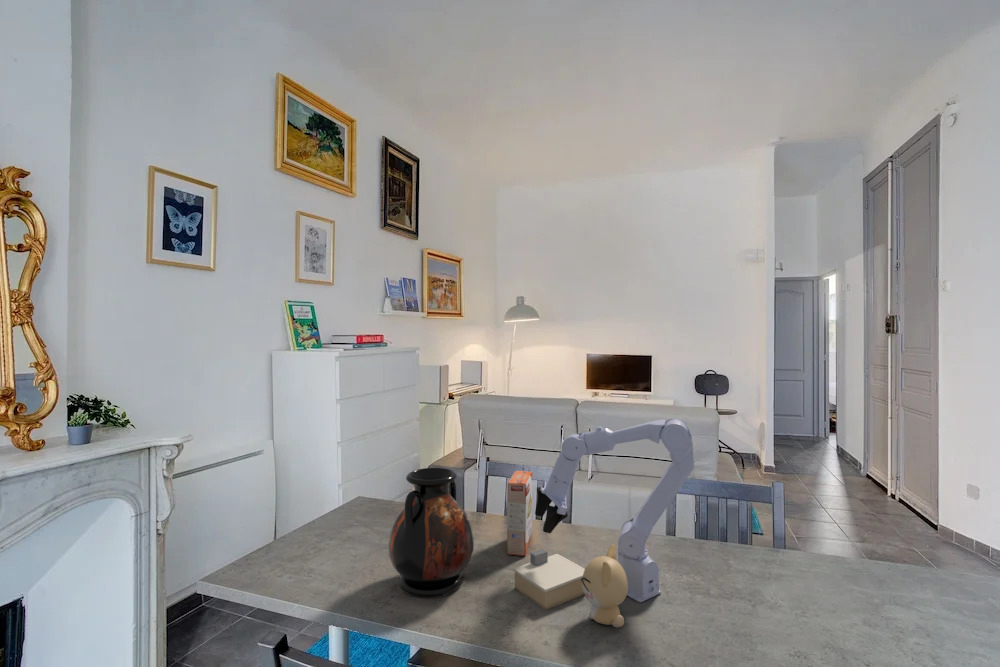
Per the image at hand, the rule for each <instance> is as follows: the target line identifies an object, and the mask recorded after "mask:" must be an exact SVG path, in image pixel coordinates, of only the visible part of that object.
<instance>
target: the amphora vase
mask: <svg viewBox="0 0 1000 667" xmlns="http://www.w3.org/2000/svg"><path fill="white" fill-rule="evenodd" d="M457 477H458V476H457V473H456V472H455V471H454V470H452V469H450V468H445V467H426V468H419V469H414V470H412V471H411V472H409V473H407V475H406V477H405V480H406V481H407V482H408V483H409V484H411V485H413V489H414V490H411V491H409V492H408V494H406V498H405V501H404V507H403V508H402V509H401V510H400V511H399V512H398V514H397V516H396V517H395V520H394V522H393V524H392V528H391V530H390V534H389V539H388V545H387V546H388V556H389V559H390V562H391V564H392V567H393V568H394V569H395V572H397V573H398V574H399V575H400V576H399V579H398V585H399V587H400V589H401V590H402V591H403V592H404V593H406V594H407V595H409V596H412V597H416V598H421V599H431V598H440V597H444V596H446V595H450V594H452V593H453V592H455V591H457V590H458V589H459V588H460V587H461V586H462V585H463V582H464V580H465V573H464V570H465V568H467V565H468V564H469V563H470V560H471V558H472V555H473V553H474V548H475V547H474V546H475V544H474V543H475V541H474V538H475V537H474V532H473V528H472V527H473V526H472V523H471V521H470V518H469V516H468V514H467V513H466V510H465V509H464V508H463V507H462V506H461V505H460V504H459V503H458V502H457V487H456V486H457V485H456V483H455V480H456V479H457Z"/></svg>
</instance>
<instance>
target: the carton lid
mask: <svg viewBox="0 0 1000 667" xmlns="http://www.w3.org/2000/svg"><path fill="white" fill-rule="evenodd" d="M548 553H549V552H548V551H547V550H545V549H543V548H542V549H540V550H536V551H533V552H530V554H529V555H530V562H528V563H525V564H522V565H519V566H516V567H514V568H512V571H513V572H514V573H515V572H516V573H517V574H519V575H520V576H522V577H523V578H525V579H526V580H528V581H529V582H531V583H532V584H534V585H535V586H537V587H538V588H540V589H541V590H543V591H544V592H548V591H550V590H553V589H556V588H558V587H561V586H563V585H566V584H569V583H571V582H574V581H576V580H579V579H581V578H583V573H584V570H585V568H584V567H583V566H580V565H579V564H577V563H576V562H573V561H572V560H569V558H566V557H564V556H562V555H561V554H559V553H555V554H552V555H548Z"/></svg>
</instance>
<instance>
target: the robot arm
mask: <svg viewBox="0 0 1000 667" xmlns="http://www.w3.org/2000/svg"><path fill="white" fill-rule="evenodd" d="M640 440H641V441H642V440H649V441H650V442H653V443H656V444H659V443H660V440H661V442H662V444H663V446H664V447H665V448H666V449H667V451H668V453H669V456H670V457H669V458H670V460H671V462H670V464H669V466H668V467H667V469H666V470H665V472H664V473H663V474H662V476H661V477H660V479H659V480H658V481H657V483H656V485H655V486H654V488H652V491H650V494H649V495H648V496H647V498H646V500H644V502H643V504H642V505H641V506H640V508H639V510H638V511H637V512H636V513H635V514H634V515H633V516H632V517H631V518H630V519H628V520H626V521H625V522H624V523H623V524H622V526H621V530H620V531H621V532H620V535H619V537H618V539H617V547H618V548H617V562H618V563H619V564H620V565H621V566H622V568H623V569H624V571H625V574H626V577H627V581H628V592H627V596H628V597H629V598H631V599H633V600H634V601H635V602H638V603H642V602H644V601H646V600H650V599H651V598H653V597H655V596H658V595H660V594H661V593H662V591H661V590H660V589H659V588H660V580H659V578H660V577H659V576H660V575H659V573H660V572H659V565H658V564H657V562H656V561H654V560H653V559H652V558H651V557H650V556H649V551H648V549H647V548H646V543H647V541H648V539H649V537H650V535H651V533H652V531H653V529H654V527H655V525H656V524H657V522H658V521H659V519H660V518H661V516H662V515H663V514H664V512H665V511H666V510H667V508H668V506H669V505H670V504H671V502H672V500H673V499H674V498H675V496H676V495H677V494H678V492H679V490H680V489H681V487H682V486H683V485H684V484H685V482H686V480H687V479H688V478H689V476H690V474H691V473H692V472H693V470H694V467H695V461H694V459H695V458H694V446H693V444H694V443H693V436H692V434H691V431H690V428H689V427H688V425H687V423H686V422H685V421H684V420H683V419H680V418H678V417H677V418H676V417H674V418H669V419H667V420H666V419H658V420H652V421H647V422H644V423H639V424H636V425H632V426H629V427H625V428H621V429H617V430H614V431H613V430H611V429H610V428H607V427H602V426H596V428H595V429H594V430H591V431H586V432H584V431H579V432H578V433H573V434H570V435H568V436H567V438H565V439H564V440H563V441H562V443H561V451H560V452H559V456H558V457H557V459H556V461H555V463H554V465H553V468H552V469H551V470H552V471H551V473H550V475H549V478H548V479H547V478H543V480H542V482H541V485H542V486H541V487H540V486H537V487H536V494H537V495H536V498H537V499H536V505H535V513H534V515H535V516H537V517H542V518H543V517H544V515H545V514H546V515H545V521H544V524H543V526H542V531H543V533H546V534H551V533H552V532H553V531H554V529H556V527H557V526H558V525H559V524H560V522H562V521H564V519H567V517H568V515H569V513H568V512H567V511H568V509H569V508H568V507H567V495H568V492H569V490H570V488H571V484H573V483H572V482H573V480H574V478H575V475H576V473H577V470H578V468H579V464H580V462H581V459H582V458H583V456H585V455H586V456H590V455H596V454H602V453H605V452H610V451H613V450H614V449H615V446H616V445H618V444H624V443H625V444H626V443H630V442H636V441H640ZM659 445H660V444H659ZM551 503H553V504H554V506H553V505H550V504H551ZM627 596H626V597H627Z"/></svg>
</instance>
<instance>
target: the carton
mask: <svg viewBox="0 0 1000 667" xmlns="http://www.w3.org/2000/svg"><path fill="white" fill-rule="evenodd" d="M514 589H515V590H516V591H518V592H520V593H521V595H523V596H525V597H526V598H528V599H529V600H530V601H531V602H533V603H535V604H536V605H537V604H538V606H539V607H540V608H542V609H543V610H544V609H545V611H548V610H550V609H552V608H554V606H555V607H557V606H559V604H560V605H562V604H565V603H567V602H570V601H572V600H574V599H576V597H577V598H579V597H581V595H582V596H583V594H584V591H583V586H582V581H581V579H579V580H576V581H574V582H571V583H569V584H566V585H563V586H561V587H558V588H556V589H553V590H550V591H548V592H544V591H543V590H541V589H540V588H538V587H537V586H535V585H534V584H532V583H531V582H529V581H528V580H526V579H525V578H523V577H522V576H520V575H519V574H517V573H516V572H514ZM584 595H585V594H584ZM578 596H579V597H578ZM566 601H567V602H566ZM564 602H565V603H564ZM561 603H562V604H561Z"/></svg>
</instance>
